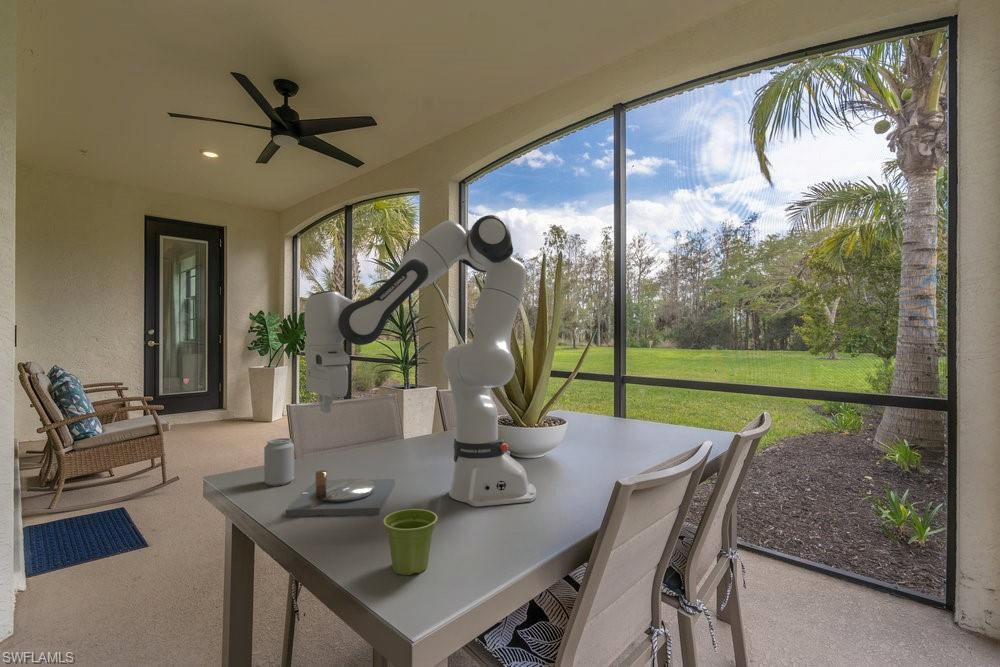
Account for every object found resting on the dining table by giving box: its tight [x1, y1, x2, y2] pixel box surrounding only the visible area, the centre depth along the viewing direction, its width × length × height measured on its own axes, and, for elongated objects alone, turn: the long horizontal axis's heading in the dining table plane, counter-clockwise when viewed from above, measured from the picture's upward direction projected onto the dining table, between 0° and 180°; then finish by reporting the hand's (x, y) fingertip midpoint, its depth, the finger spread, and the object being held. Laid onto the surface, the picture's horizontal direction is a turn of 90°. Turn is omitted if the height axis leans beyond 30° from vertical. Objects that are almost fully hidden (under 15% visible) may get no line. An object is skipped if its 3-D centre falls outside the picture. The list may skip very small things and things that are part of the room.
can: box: [263, 437, 295, 487], centre depth 128 cm, size 8×8×12 cm
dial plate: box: [285, 478, 396, 517], centre depth 116 cm, size 21×21×2 cm
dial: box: [315, 469, 374, 502], centre depth 115 cm, size 16×14×7 cm
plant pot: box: [383, 508, 438, 576], centre depth 82 cm, size 9×9×9 cm
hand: (325, 412), depth 114 cm, fingers closed
